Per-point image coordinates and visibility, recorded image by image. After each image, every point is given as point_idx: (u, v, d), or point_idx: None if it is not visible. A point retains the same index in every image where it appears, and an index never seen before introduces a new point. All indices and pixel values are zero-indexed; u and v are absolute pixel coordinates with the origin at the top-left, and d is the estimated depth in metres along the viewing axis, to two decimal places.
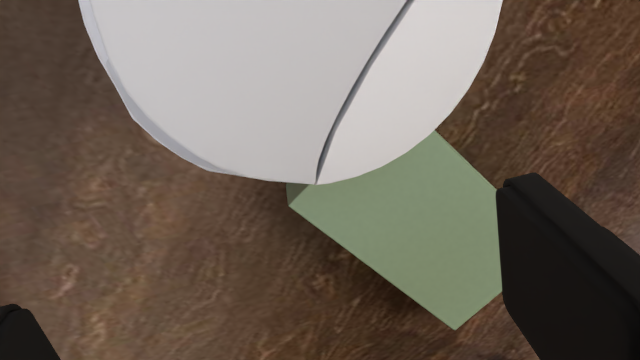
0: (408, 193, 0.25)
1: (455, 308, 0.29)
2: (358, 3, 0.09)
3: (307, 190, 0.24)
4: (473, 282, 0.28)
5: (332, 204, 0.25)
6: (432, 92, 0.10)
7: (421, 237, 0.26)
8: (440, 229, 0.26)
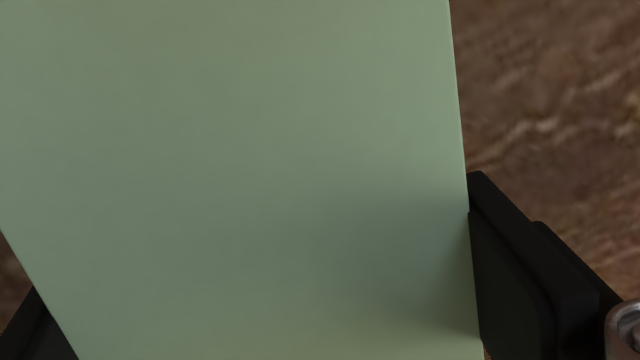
0: (285, 211, 0.08)
1: None
2: None
3: None
4: None
5: (43, 110, 0.07)
6: None
7: (250, 342, 0.09)
8: (305, 345, 0.09)
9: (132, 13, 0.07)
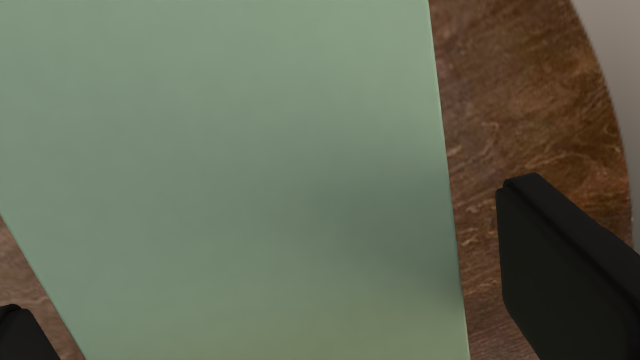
0: (275, 204, 0.09)
1: None
2: None
3: None
4: None
5: (45, 107, 0.07)
6: None
7: (243, 330, 0.10)
8: (296, 333, 0.10)
9: (130, 16, 0.07)
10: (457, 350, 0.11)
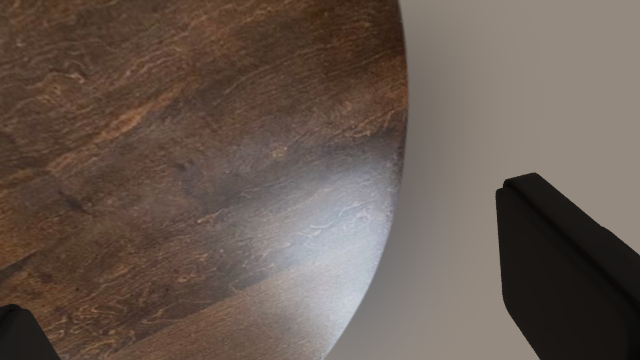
0: None
1: None
2: None
3: None
4: None
5: None
6: None
7: None
8: None
9: None
10: None
